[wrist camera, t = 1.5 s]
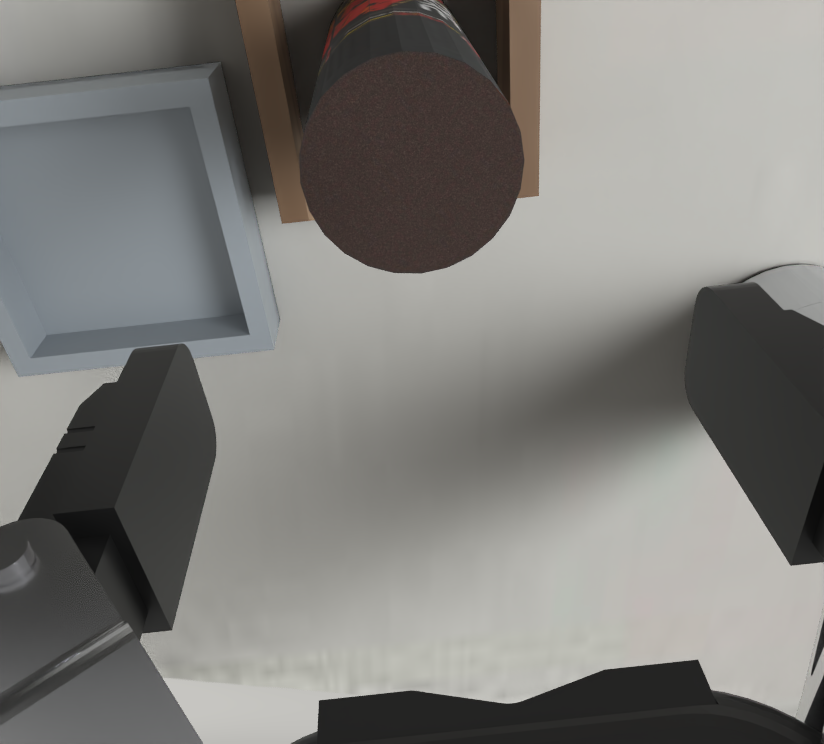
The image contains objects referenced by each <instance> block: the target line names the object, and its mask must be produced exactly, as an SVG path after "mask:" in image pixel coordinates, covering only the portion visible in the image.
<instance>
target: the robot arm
mask: <svg viewBox="0 0 824 744" xmlns="http://www.w3.org/2000/svg"><path fill="white" fill-rule="evenodd" d="M685 388H686V393H687V397H688V400H689V403H690V405H691V407H692V409H693V411H694V413H695V414H696V416H697V417H698V419H699V420H700V422H701V424H702V425H703V427H704V428H705V430H706V432H707V433H708V435H709V436H710V438H711V440H712V441H713V443H714V444H715V446H716V448H717V449H718V451H719V452H720V454H721V456H722V457H723V459H724V460H725V462H726V463H727V465H728V467H729V468H730V470H731V471H732V473H733V475H734V476H735V478H736V479H737V481H738V483H739V484H740V486H741V487H742V489H743V491H744V492H745V494H746V495H747V497H748V498H749V500H750V502H751V503H752V505H753V506H754V508H755V510H756V511H757V513H758V514H759V516H760V518H761V519H762V521H763V522H764V524H765V526H766V527H767V529H768V530H769V532H770V533H771V535H772V537H773V538H774V540H775V541H776V543H777V545H778V546H779V548H780V549H781V551H782V553H783V554H784V556H785V557H786V559H787V561H788V562H789V564H790V565H791V566H792V565H801V564H810V563H819V562H823V564H824V267H821V266H815V265H805V264H800V265H790V266H783V267H779V268H776V269H772V270H768V271H765V272H763V273H761V274H759V275H756V276H754V277H752V278H750V279H748V280H746V281H745V282H743V283H737V284H728V285H719V286H710V287H704V288H702V289H701V290H700V291H699V293H698V295H697V298H696V303H695V309H694V315H693V321H692V328H691V334H690V341H689V347H688V354H687V360H686V366H685ZM67 431H68V433H67V434H64V436H63V437H62V439H61V441H60V443H59V445H58V447H57V453H56V454H53V456H52V458H51V460H50V462H49V463H48V465H47V467H46V469H45V471H44V473H43V475H42V476H41V478H40V480H39V482H38V484H37V486H36V488H35V489H34V491H33V493H32V495H31V497H30V499H29V501H28V502H27V504H26V506H25V508H24V510H23V512H22V514H21V515H20V517H19V519H18V521H15V522H12V523H9V524H6V525H3V526H1V527H0V744H203V742H202V741H201V739H200V738H199V736H198V734H197V733H196V731H195V730H194V728H193V726H192V725H191V723H190V722H189V720H188V718H187V717H186V715H185V714H184V712H183V710H182V709H181V707H180V706H179V704H178V702H177V701H176V700H175V697H174V696H173V694H172V693H171V691H170V690H169V688H168V686H167V685H166V683H165V681H164V680H163V678H162V677H161V675H160V673H159V672H158V670H157V669H156V667H155V665H154V664H153V662H152V661H151V659H150V657H149V656H148V654H147V653H146V651H145V649H144V648H143V646H142V645H141V643H140V638H141V635H142V633H150V632H160V631H169V630H172V628H173V624H174V620H175V616H176V612H177V608H178V604H179V600H180V596H181V592H182V588H183V584H184V580H185V576H186V572H187V568H188V565H189V561H190V557H191V553H192V549H193V545H194V541H195V537H196V533H197V529H198V525H199V521H200V517H201V513H202V509H203V505H204V501H205V497H206V494H207V490H208V486H209V482H210V478H211V474H212V470H213V466H214V462H215V457H216V433H215V427H214V422H213V419H212V415H211V412H210V409H209V406H208V403H207V400H206V397H205V394H204V391H203V388H202V385H201V382H200V378H199V375H198V372H197V369H196V366H195V363H194V360H193V357H192V354H191V352H190V350H189V348H188V347H187V346H186V345H185V344H183V343H181V344H172V345H162V346H153V347H144V348H136V349H134V350H133V351H132V353H131V354H130V356H129V358H128V361H127V363H126V365H125V367H124V369H123V371H122V373H121V375H120V377H119V379H118V381H117V382H114V383H105V384H103V385H102V386H101V387H100V388H99V389H97V390H96V391H95V392H94V393H93V394H92V395H91V396H90V397H89V398H87V399H86V400H85V401H84V402H83V403H82V404H81V405H80V406H79V408H78V410H77V411H76V413H75V415H74V417H73V419H72V421H71V423H70V424H69V426H68V428H67ZM291 744H824V605H823V609H822V614H821V618H820V622H819V626H818V630H817V634H816V638H815V642H814V647H813V651H812V655H811V659H810V663H809V667H808V671H807V676H806V680H805V684H804V688H803V692H802V696H801V699H800V703H799V706H798V710H797V713H796V716H795V718H794V717H792V716H790V715H788V714H786V713H783V712H781V711H779V710H777V709H775V708H773V707H770V706H767V705H765V704H762V703H759V702H756V701H754V700H751V699H748V698H744V697H741V696H737V695H733V694H729V693H725V692H719V691H713V690H711V689H710V686H709V684H708V682H707V679H706V677H705V675H704V673H703V670H702V668H701V666H700V663H699V661H698V660H691V661H682V662H673V663H663V664H654V665H645V666H635V667H626V668H617V669H608V670H603V671H600V672H598V673H595V674H592V675H590V676H587V677H585V678H582V679H579V680H577V681H574V682H572V683H569V684H566V685H564V686H561V687H558V688H556V689H553V690H551V691H548V692H545V693H543V694H540V695H538V696H535V697H532V698H530V699H527V700H524V701H522V702H518V703H512V704H504V703H496V702H489V701H482V700H475V699H468V698H461V697H454V696H447V695H440V694H433V693H426V692H419V691H403V692H394V693H385V694H376V695H366V696H357V697H348V698H338V699H329V700H320V701H319V714H318V731H317V732H315V733H313V734H310V735H307V736H305V737H303V738H301V739H299V740H297V741H295V742H293V743H291Z"/></svg>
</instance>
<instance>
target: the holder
mask: <svg viewBox="0 0 824 744" xmlns="http://www.w3.org/2000/svg"><path fill="white" fill-rule="evenodd" d="M235 2H236V7H237V11H238V16H239V21H240V26H241V30H242V35H243V40H244V45H245V49H246V54H247V59H248V64H249V69H250V73H251V78H252V83H253V88H254V92H255V97H256V102H257V107H258V111H259V116H260V121H261V126H262V130H263V135H264V140H265V145H266V149H267V154H268V159H269V164H270V168H271V173H272V178H273V183H274V187H275V192H276V197H277V202H278V206H279V211H280V216H281V221H282V224H283V223H292V222H301V221H311V220H315V219H314V218H313V216H312V215H311V213H310V212H309V209H308V206H307V203H306V200H305V197H304V193H303V190H302V187H301V184H300V165H299V152H300V148H301V144H302V139H303V135H304V134H303V128H302V123H301V117H300V112H299V106H298V100H297V95H296V89H295V83H294V78H293V72H292V67H291V61H290V55H289V50H288V44H287V38H286V33H285V27H284V22H283V16H282V10H281V5H280V0H235ZM496 37H497V84H498V87H499V88H500V90H501V92H502V93H503V95H504V96H505V98H506V100H507V101H508V103H509V104H510V107H511V109H512V112H513V114H514V116H515V119H516V121H517V124H518V126H519V128H520V131H521V137H522V145H523V152H524V160H525V161H524V168H523V176H522V183H521V190H520V192H519V194H518V197H517V198H524V197H533V196H539V124H540V37H541V0H496Z"/></svg>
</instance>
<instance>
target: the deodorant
mask: <svg viewBox="0 0 824 744" xmlns="http://www.w3.org/2000/svg"><path fill="white" fill-rule="evenodd" d="M524 161H525V160H524V152H523V145H522V137H521V131H520V128H519V126H518V124H517V121H516V119H515V116H514V114H513V112H512V109H511V107H510V104H509V103H508V101H507V100H506V98H505V96H504V95H503V93H502V92H501V90H500V88H499V87H498V85H497V84H496V82H495V81H494V79H493V77H492V76H491V74H490V73H489V71H488V70H487V68H486V66H485V65H484V63H483V62H482V60H481V59H480V57H479V55H478V54H477V52H476V51H475V49H474V48H473V46H472V44H471V43H470V41H469V40H468V38H467V36H466V35H465V33H464V32H463V30H462V29H461V27H460V25H459V24H458V22H457V21H456V19H455V18H454V16H453V14H452V13H451V11H450V10H449V9H448V8H447V6H446V5H445V4H444V2H443V1H442V0H345V1H344V2H343V4H342V5H341V6H340V7H339V9H338V10H337V12H336V14H335V16H334V18H333V20H332V22H331V24H330V28H329V32H328V36H327V40H326V44H325V48H324V52H323V56H322V60H321V65H320V69H319V73H318V77H317V81H316V85H315V89H314V93H313V97H312V101H311V106H310V110H309V114H308V118H307V122H306V126H305V131H304V135H303V139H302V144H301V148H300V152H299V165H300V184H301V187H302V190H303V193H304V197H305V200H306V203H307V206H308V209H309V212H310V213H311V215H312V216H313V218H314V219H315V221H316V222H317V224H318V225H319V227H320V229H321V230H322V232H323V233H324V235H325V236H326V237H328V238H329V239H330V240H331V241H332V242H333V243H334V244H335V245H336V246H337V247H338V248H339V249H340V250H342V251H343V252H344V253H345V254H347V255H349V256H351V257H352V258H354V259H356V260H358V261H360V262H362V263H363V264H365V265H367V266H370V267H374V268H377V269H381V270H385V271H389V272H393V273H425V272H430V271H434V270H439V269H443V268H447V267H450V266H452V265H454V264H456V263H458V262H460V261H462V260H464V259H466V258H468V257H470V256H472V255H473V254H474V253H476V252H477V251H478V250H479V249H480V248H482V247H483V246H484V245H485V244H486V243H488V242H489V241H490V240H491V239H492V238H493V237H494V236H495V235H496V233H497V232H498V231H499V229H500V228H501V227H502V225H503V224H504V223H505V221H506V220H507V219H508V217H509V216H510V214H511V211H512V209H513V207H514V204H515V202H516V199H517V197H518V194H519V192H520V190H521V183H522V176H523V168H524Z"/></svg>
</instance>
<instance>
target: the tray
mask: <svg viewBox="0 0 824 744" xmlns="http://www.w3.org/2000/svg"><path fill="white" fill-rule="evenodd" d="M279 322H280V317H279V313H278V308H277V304H276V300H275V295H274V291H273V287H272V282H271V278H270V274H269V269H268V265H267V261H266V256H265V252H264V248H263V243H262V239H261V235H260V230H259V226H258V222H257V217H256V213H255V209H254V205H253V200H252V196H251V192H250V187H249V183H248V179H247V174H246V170H245V166H244V161H243V157H242V153H241V148H240V144H239V140H238V135H237V131H236V127H235V122H234V118H233V114H232V109H231V105H230V101H229V96H228V92H227V88H226V83H225V79H224V75H223V70H222V66H221V62H216V63H207V64H198V65H189V66H180V67H171V68H162V69H153V70H144V71H134V72H125V73H116V74H107V75H98V76H89V77H80V78H71V79H62V80H53V81H44V82H35V83H25V84H16V85H7V86H0V341H1V343H2V345H3V347H4V349H5V351H6V353H7V355H8V357H9V359H10V361H11V363H12V365H13V367H14V369H15V371H16V373H17V375H18V377H21V376H31V375H40V374H50V373H59V372H69V371H78V370H87V369H97V368H106V367H116V366H125V365H126V363H127V361H128V358H129V356H130V354H131V353H132V351H133V350H134V349H136V348H144V347H153V346H162V345H172V344H181V343H183V344H185V345H186V346H187V347H188V348H189V350H190V352H191V354H192V357H193V358H200V357H210V356H219V355H228V354H238V353H247V352H257V351H266V350H274V348H275V342H276V337H277V332H278V327H279Z"/></svg>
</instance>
